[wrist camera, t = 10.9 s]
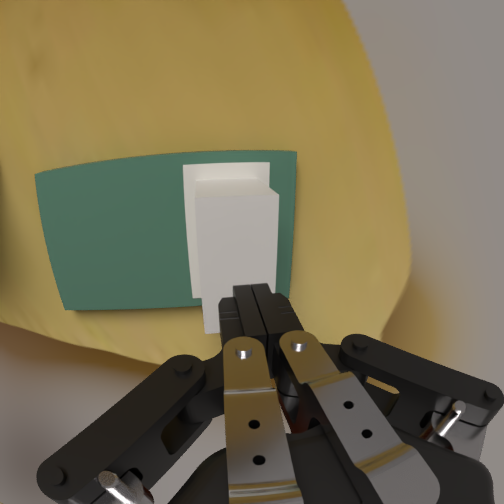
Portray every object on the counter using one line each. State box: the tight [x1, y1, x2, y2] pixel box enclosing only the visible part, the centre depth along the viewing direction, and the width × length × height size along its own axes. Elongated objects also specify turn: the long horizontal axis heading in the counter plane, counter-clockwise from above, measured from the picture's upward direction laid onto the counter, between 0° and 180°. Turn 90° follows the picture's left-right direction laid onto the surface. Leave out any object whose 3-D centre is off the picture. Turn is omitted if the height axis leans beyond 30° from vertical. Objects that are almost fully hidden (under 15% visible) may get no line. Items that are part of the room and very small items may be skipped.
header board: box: [35, 150, 297, 310], centre depth 20 cm, size 20×12×4 cm, turn 90°
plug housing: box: [195, 178, 279, 334], centre depth 18 cm, size 8×4×6 cm, turn 0°
